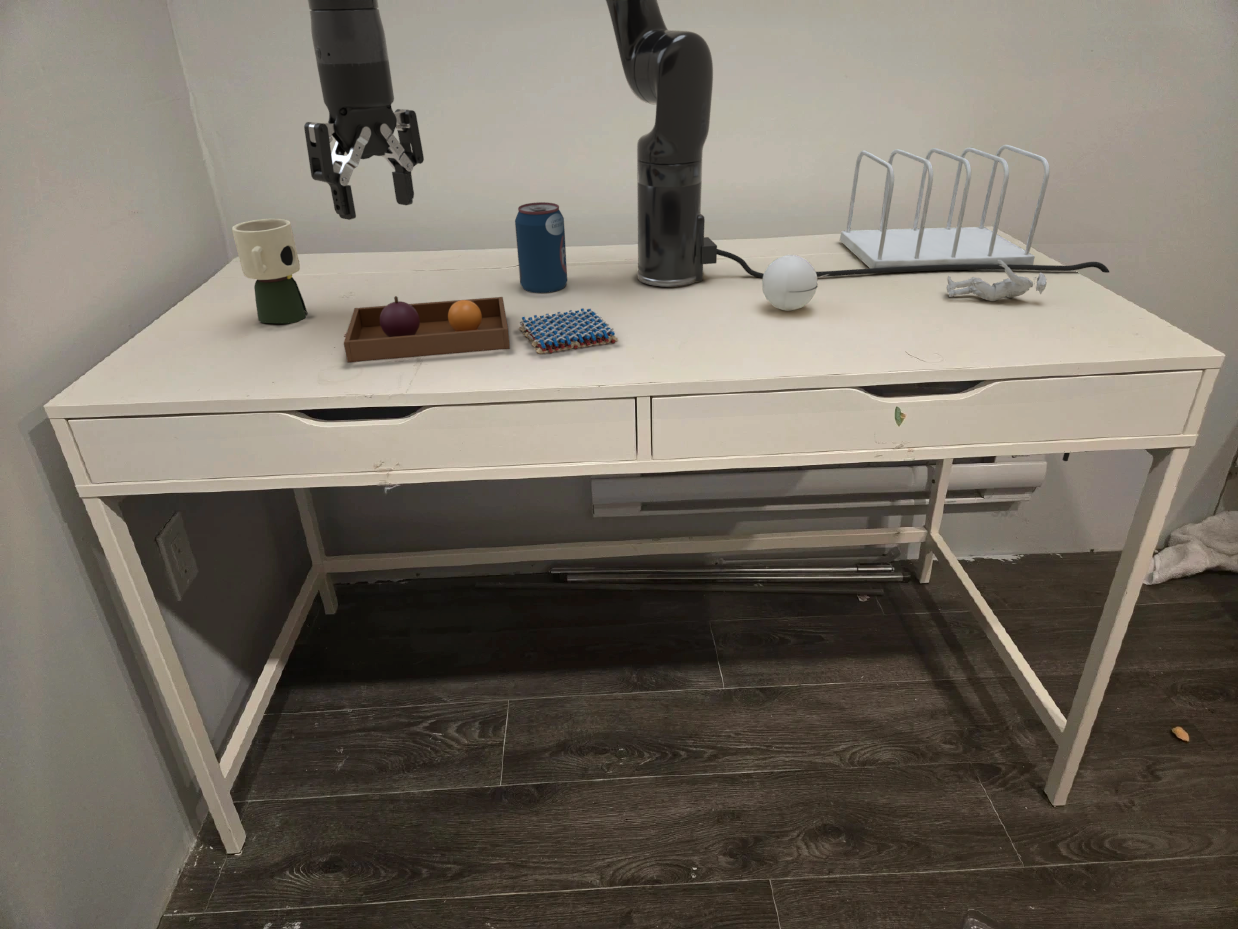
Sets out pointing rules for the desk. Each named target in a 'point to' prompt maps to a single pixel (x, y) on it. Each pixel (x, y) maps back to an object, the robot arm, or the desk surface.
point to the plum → (399, 319)
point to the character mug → (271, 268)
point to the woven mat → (567, 331)
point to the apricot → (464, 316)
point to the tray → (426, 332)
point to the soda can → (541, 247)
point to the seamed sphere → (789, 282)
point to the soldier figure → (996, 286)
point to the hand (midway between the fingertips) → (377, 210)
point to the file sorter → (940, 242)
